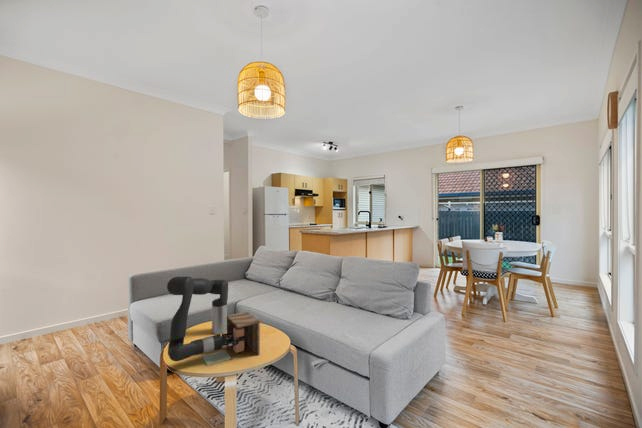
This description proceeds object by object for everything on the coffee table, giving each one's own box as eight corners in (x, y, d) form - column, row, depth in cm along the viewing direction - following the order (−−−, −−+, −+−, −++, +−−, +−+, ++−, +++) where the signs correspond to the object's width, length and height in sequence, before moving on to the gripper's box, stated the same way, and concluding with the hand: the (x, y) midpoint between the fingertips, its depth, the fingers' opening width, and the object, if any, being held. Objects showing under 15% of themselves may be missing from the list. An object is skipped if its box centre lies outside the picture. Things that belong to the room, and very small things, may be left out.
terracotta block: (233, 349, 160) (233, 327, 160) (241, 347, 162) (241, 326, 162) (235, 352, 156) (236, 330, 156) (244, 350, 159) (244, 328, 159)
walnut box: (226, 347, 165) (226, 315, 166) (247, 342, 172) (247, 311, 172) (237, 361, 150) (237, 326, 150) (259, 354, 156) (259, 321, 157)
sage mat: (202, 356, 154) (202, 355, 154) (225, 350, 161) (225, 349, 161) (207, 365, 145) (207, 364, 145) (231, 358, 152) (231, 357, 152)
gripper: (215, 341, 145) (248, 333, 155) (208, 331, 157) (239, 325, 167) (215, 356, 145) (248, 347, 155) (208, 345, 157) (239, 338, 167)
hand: (243, 336), depth 161 cm, fingers closed on terracotta block, 4 cm apart
